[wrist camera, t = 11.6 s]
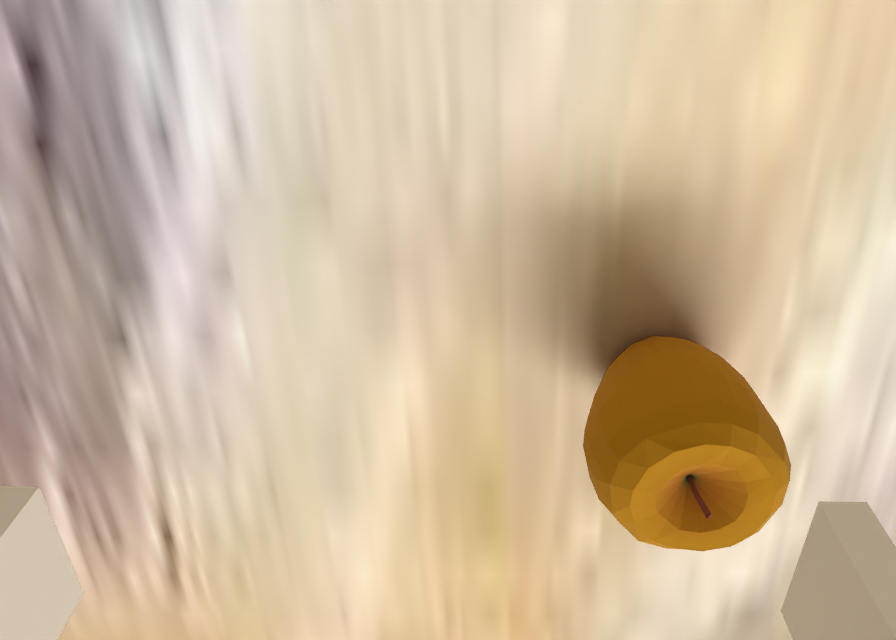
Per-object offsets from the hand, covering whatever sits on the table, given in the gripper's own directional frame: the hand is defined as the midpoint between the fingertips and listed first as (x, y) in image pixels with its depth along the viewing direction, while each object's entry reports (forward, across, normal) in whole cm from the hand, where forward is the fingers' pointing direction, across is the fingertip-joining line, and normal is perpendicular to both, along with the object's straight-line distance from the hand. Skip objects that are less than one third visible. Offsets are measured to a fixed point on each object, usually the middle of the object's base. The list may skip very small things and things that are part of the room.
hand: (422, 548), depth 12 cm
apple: (+32, +13, -18) cm, 39 cm away
